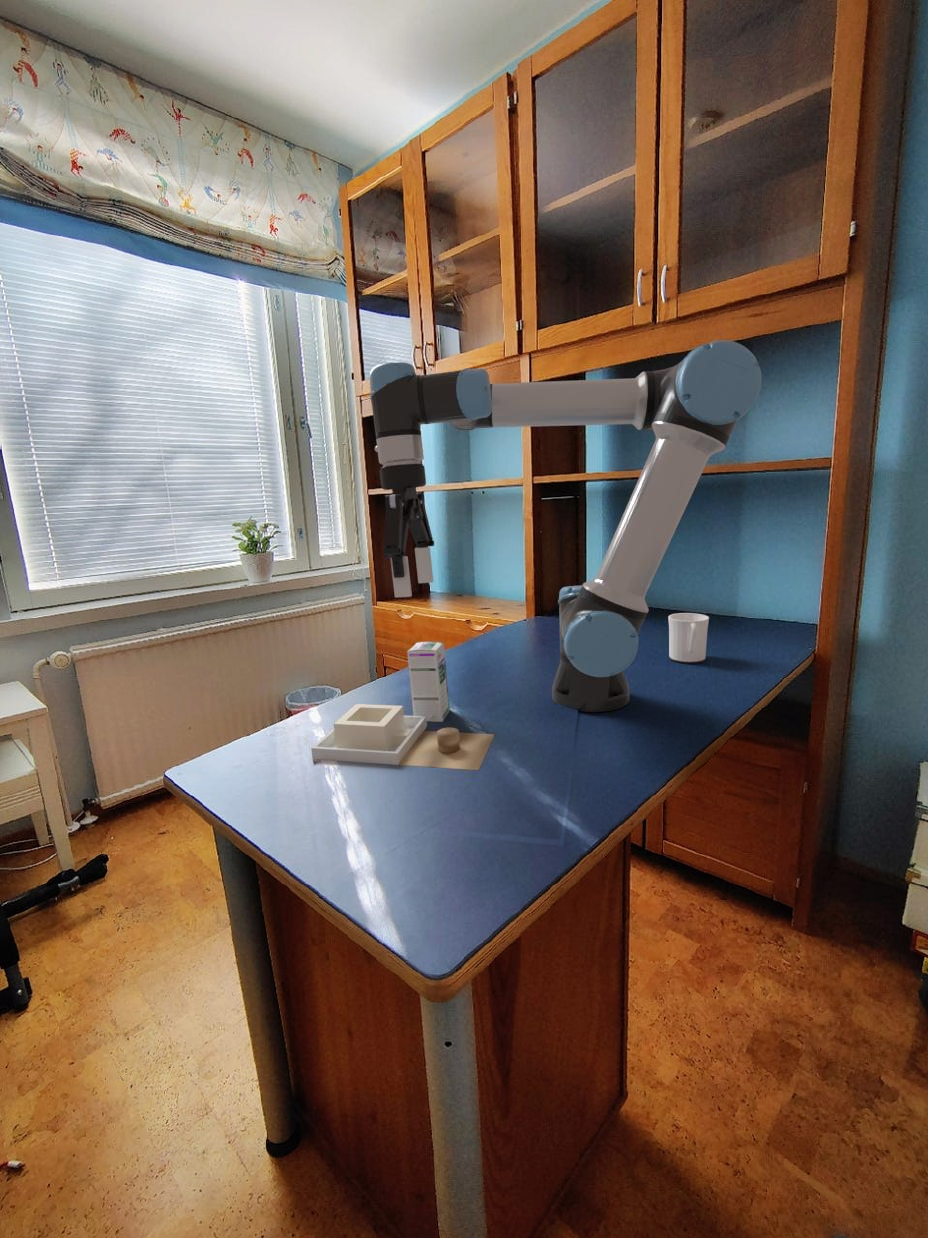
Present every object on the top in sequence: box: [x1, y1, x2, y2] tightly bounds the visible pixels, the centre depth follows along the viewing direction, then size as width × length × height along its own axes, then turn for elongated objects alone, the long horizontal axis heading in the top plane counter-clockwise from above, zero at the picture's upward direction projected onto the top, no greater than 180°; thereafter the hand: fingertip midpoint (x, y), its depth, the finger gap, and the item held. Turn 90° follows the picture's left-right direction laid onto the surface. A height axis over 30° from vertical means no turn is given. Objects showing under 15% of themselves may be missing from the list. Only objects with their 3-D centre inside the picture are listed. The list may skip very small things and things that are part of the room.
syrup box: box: [406, 641, 450, 723], centre depth 108 cm, size 6×6×14 cm
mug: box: [667, 612, 710, 665], centre depth 134 cm, size 11×9×10 cm
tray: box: [311, 714, 428, 766], centre depth 99 cm, size 15×15×2 cm
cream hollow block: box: [333, 703, 412, 751], centre depth 98 cm, size 9×12×5 cm
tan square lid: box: [398, 727, 496, 771], centre depth 95 cm, size 13×13×4 cm
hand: (415, 589), depth 100 cm, fingers open, 13 cm apart
